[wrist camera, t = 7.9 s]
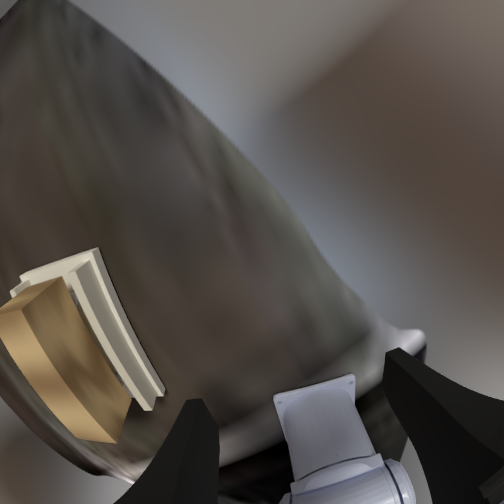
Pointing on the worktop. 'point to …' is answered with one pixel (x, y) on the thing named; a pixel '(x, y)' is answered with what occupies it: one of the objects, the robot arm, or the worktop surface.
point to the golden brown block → (63, 361)
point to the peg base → (103, 321)
